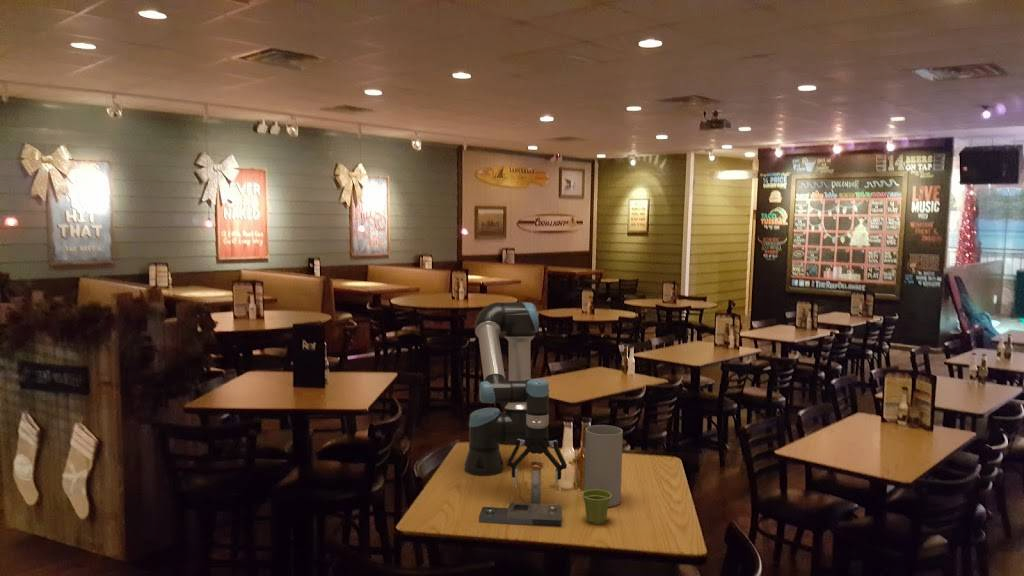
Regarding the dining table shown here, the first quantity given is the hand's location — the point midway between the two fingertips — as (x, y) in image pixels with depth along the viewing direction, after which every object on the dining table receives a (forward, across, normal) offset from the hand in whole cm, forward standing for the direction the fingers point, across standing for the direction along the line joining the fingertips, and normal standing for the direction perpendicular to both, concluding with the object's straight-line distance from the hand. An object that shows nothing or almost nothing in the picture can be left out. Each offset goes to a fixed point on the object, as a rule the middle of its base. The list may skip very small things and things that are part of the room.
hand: (536, 487), depth 250 cm
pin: (+6, 0, 0) cm, 6 cm away
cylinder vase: (+6, +22, +6) cm, 24 cm away
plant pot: (+6, +20, -11) cm, 24 cm away
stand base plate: (+6, -4, -14) cm, 16 cm away
